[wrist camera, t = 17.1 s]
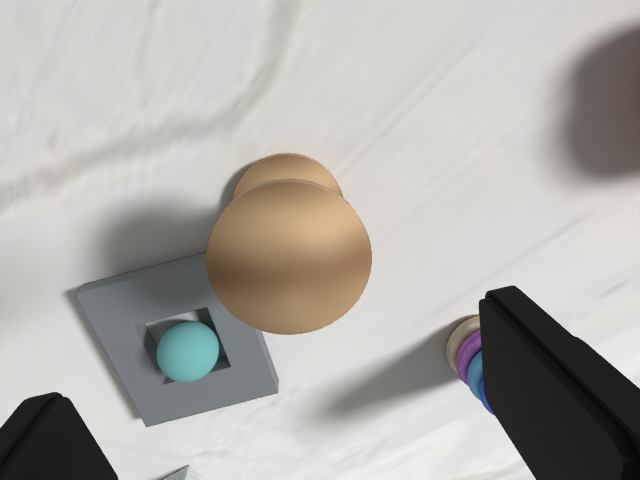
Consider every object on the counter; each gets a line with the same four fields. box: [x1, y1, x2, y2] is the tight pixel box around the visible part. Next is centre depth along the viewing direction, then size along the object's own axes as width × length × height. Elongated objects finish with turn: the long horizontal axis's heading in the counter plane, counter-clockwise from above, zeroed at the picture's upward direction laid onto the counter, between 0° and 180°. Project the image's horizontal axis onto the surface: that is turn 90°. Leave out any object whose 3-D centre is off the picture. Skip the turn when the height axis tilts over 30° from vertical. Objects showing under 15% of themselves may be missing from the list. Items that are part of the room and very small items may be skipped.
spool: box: [206, 153, 372, 335], centre depth 29 cm, size 10×10×12 cm
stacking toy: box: [446, 316, 495, 415], centre depth 33 cm, size 8×8×19 cm
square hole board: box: [75, 252, 279, 427], centre depth 38 cm, size 16×14×2 cm
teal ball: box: [157, 321, 219, 382], centre depth 36 cm, size 6×6×6 cm
